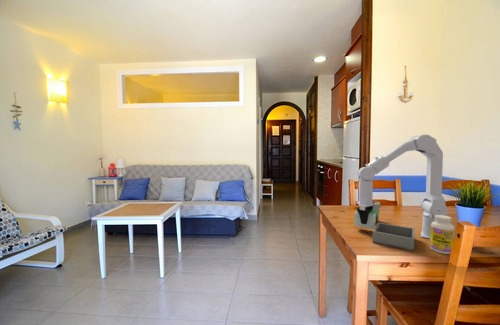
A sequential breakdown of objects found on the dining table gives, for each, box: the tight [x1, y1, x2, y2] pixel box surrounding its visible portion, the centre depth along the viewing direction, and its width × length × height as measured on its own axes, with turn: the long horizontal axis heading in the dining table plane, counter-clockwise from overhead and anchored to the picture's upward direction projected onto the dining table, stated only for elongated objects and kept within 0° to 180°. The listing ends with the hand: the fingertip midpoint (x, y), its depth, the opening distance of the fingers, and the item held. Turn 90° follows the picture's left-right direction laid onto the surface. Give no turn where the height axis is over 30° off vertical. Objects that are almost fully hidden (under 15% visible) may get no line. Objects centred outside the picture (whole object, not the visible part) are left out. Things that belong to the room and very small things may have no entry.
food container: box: [371, 200, 382, 224], centre depth 121 cm, size 12×6×10 cm, turn 168°
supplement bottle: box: [429, 215, 455, 255], centre depth 85 cm, size 7×7×13 cm
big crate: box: [372, 222, 416, 252], centre depth 95 cm, size 14×15×4 cm
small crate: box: [353, 210, 376, 230], centre depth 106 cm, size 8×5×6 cm, turn 54°
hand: (365, 222), depth 106 cm, fingers closed on small crate, 5 cm apart
